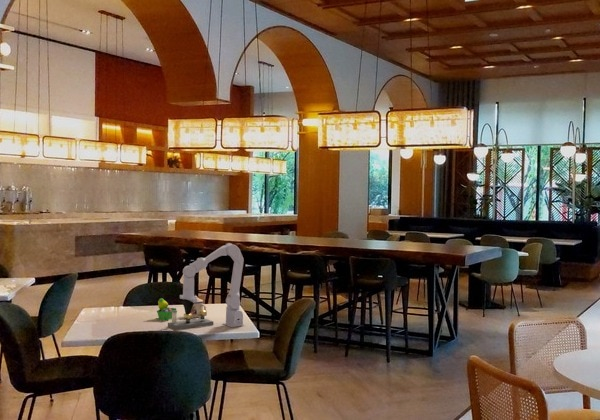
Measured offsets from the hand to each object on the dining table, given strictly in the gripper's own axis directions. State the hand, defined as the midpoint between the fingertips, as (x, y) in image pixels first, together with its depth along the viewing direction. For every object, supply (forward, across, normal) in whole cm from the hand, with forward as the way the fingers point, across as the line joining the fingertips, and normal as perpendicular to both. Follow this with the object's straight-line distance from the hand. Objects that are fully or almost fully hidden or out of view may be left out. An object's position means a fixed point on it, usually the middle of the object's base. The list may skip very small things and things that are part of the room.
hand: (187, 314), depth 353 cm
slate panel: (+7, -1, +2) cm, 7 cm away
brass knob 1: (+4, 0, 0) cm, 4 cm away
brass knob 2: (+3, 0, +9) cm, 10 cm away
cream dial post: (+5, -3, -6) cm, 9 cm away
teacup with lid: (+7, -21, +18) cm, 29 cm away
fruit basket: (+7, -25, 0) cm, 26 cm away
